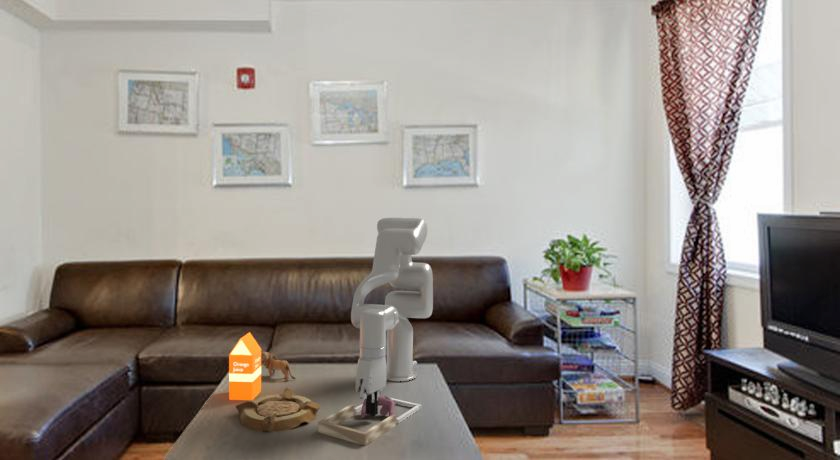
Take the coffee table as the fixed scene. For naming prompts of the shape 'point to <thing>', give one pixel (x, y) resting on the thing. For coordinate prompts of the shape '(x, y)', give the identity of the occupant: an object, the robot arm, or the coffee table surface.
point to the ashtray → (277, 412)
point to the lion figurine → (275, 365)
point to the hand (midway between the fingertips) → (371, 414)
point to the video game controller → (383, 401)
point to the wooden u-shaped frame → (352, 435)
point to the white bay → (404, 403)
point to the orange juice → (245, 369)
